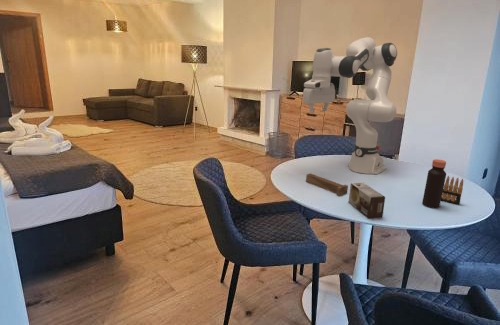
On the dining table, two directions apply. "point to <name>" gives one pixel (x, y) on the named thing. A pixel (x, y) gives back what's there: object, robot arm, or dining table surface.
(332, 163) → the dining table surface
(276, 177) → the dining table surface
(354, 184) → the coffee box
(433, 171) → the bottle
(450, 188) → the ammunition clip
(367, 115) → the robot arm
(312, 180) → the walnut pusher
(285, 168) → the dining table surface
